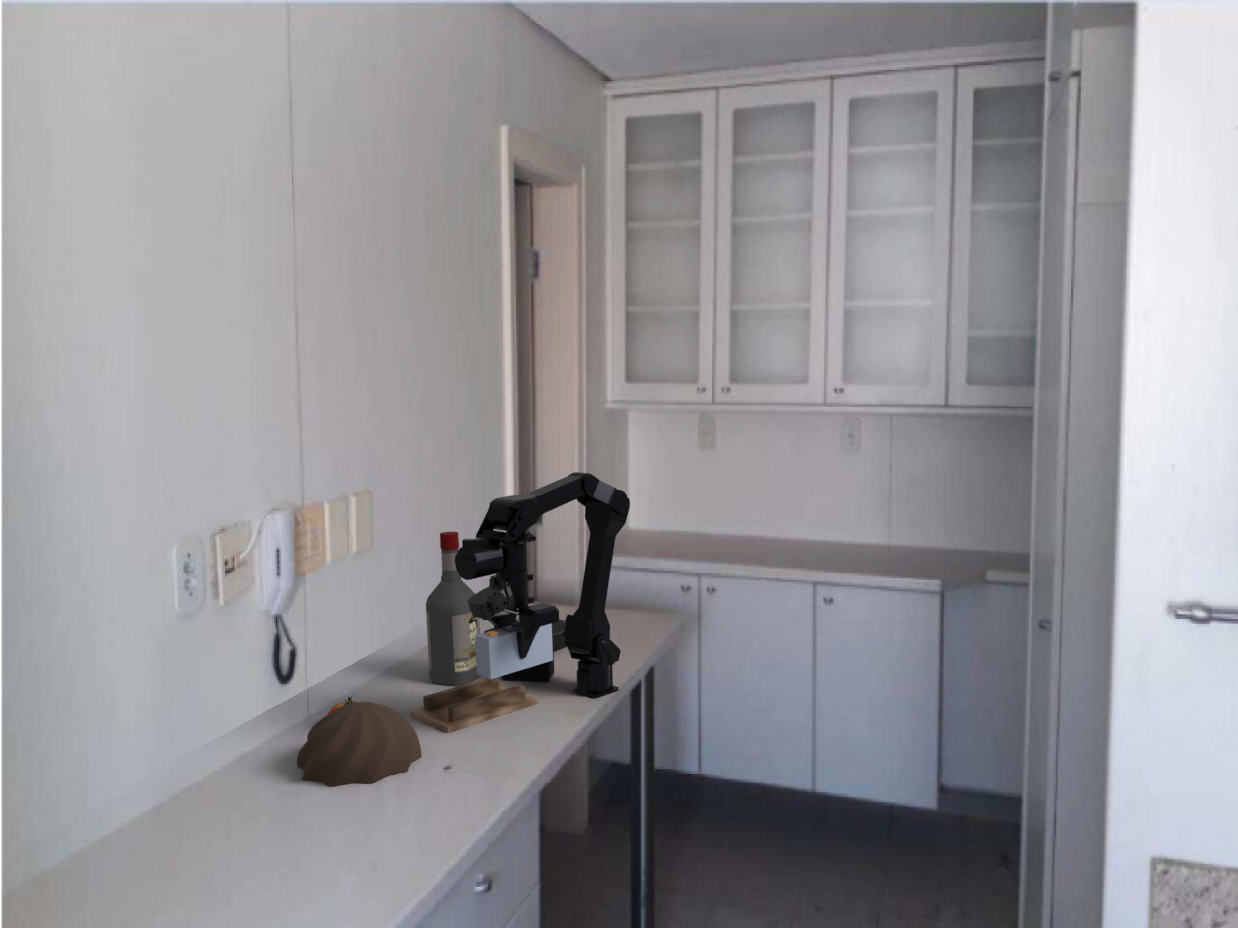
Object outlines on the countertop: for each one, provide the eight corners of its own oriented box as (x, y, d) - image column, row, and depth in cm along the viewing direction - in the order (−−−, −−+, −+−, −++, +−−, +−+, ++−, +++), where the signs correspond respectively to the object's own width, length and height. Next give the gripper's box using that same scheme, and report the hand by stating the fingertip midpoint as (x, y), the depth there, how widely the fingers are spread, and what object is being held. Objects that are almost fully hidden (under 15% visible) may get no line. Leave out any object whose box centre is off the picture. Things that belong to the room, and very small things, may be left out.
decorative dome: (440, 743, 170) (437, 686, 169) (385, 793, 151) (382, 729, 150) (338, 735, 175) (334, 680, 174) (272, 782, 156) (268, 720, 155)
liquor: (424, 683, 201) (416, 536, 198) (448, 669, 210) (441, 528, 206) (463, 687, 198) (456, 538, 194) (486, 673, 206) (480, 530, 203)
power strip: (538, 655, 184) (537, 616, 183) (552, 660, 181) (551, 620, 180) (476, 674, 174) (474, 632, 173) (490, 679, 171) (488, 637, 171)
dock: (499, 688, 196) (498, 671, 196) (537, 703, 188) (537, 685, 187) (410, 716, 183) (410, 697, 182) (448, 732, 174) (447, 713, 174)
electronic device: (549, 682, 199) (547, 633, 198) (501, 680, 201) (499, 632, 200) (554, 675, 204) (553, 628, 202) (507, 674, 206) (505, 626, 204)
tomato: (386, 713, 180) (360, 691, 176) (368, 748, 176) (342, 726, 172) (356, 712, 185) (331, 691, 181) (338, 746, 181) (312, 725, 177)
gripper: (442, 570, 177) (446, 656, 179) (508, 585, 164) (512, 678, 165) (493, 559, 185) (496, 642, 186) (559, 573, 171) (562, 662, 173)
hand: (515, 655), depth 177 cm, fingers closed on power strip, 4 cm apart
